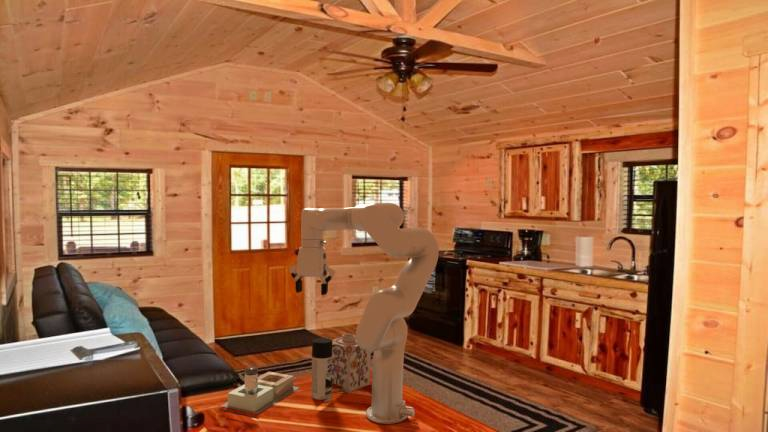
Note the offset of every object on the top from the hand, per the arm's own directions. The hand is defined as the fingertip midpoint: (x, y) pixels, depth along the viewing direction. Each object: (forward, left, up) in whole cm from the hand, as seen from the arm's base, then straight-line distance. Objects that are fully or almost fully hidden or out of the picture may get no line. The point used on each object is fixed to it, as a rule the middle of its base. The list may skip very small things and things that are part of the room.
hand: (311, 293), depth 186 cm
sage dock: (+8, +22, -32) cm, 40 cm away
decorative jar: (-11, -9, -34) cm, 36 cm away
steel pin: (+8, +22, -32) cm, 40 cm away
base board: (+8, +16, -33) cm, 38 cm away
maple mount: (+8, +10, -32) cm, 35 cm away
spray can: (-9, +7, -34) cm, 35 cm away
